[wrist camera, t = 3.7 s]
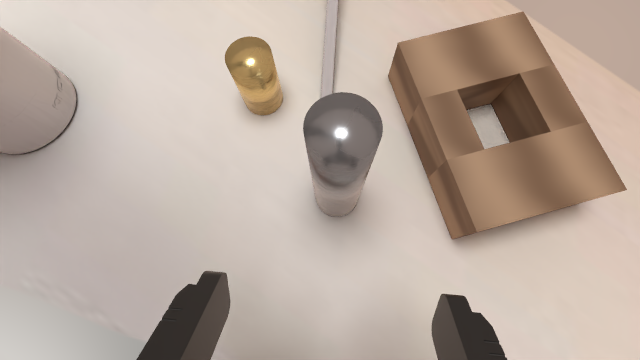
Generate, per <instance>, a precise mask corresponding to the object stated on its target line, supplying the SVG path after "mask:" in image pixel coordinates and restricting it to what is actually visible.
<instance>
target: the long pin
mask: <svg viewBox="0 0 640 360" xmlns="http://www.w3.org/2000/svg"><path fill="white" fill-rule="evenodd" d="M303 131H304V137H305V143H306V148H307V154H308V159H309V165H310V170H311V176H312V181H313V186H314V192H315V197H316V202H317V205H318V206H319V208H320V209H321V210H322V211H323V212H324V213H326V214H327V215H330V216H334V217H339V216H344V215H346V214H348V213H349V212H351V211H352V210H353V209H354V207H355V205H356V203H357V201H358V198H359V195H360V193H361V190H362V188H363V185H364V182H365V180H366V177H367V174H368V172H369V169H370V167H371V164H372V161H373V159H374V156H375V153H376V151H377V148H378V146H379V143H380V140H381V137H382V132H383V126H382V120H381V117H380V115H379V113H378V111H377V109H376V108H375V107H374V106H373V105H372V104H371V103H370V102H369V101H368V100H366V99H365V98H363V97H361V96H359V95H356V94H352V93H343V92H341V93H333V94H330V95H327V96H325V97H323V98H321V99H319V100H318V101H317V102H315V103H314V104H313V105H312V106H311V108H310V109H309V110H308V112H307V114H306V117H305V120H304V126H303Z"/></svg>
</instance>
